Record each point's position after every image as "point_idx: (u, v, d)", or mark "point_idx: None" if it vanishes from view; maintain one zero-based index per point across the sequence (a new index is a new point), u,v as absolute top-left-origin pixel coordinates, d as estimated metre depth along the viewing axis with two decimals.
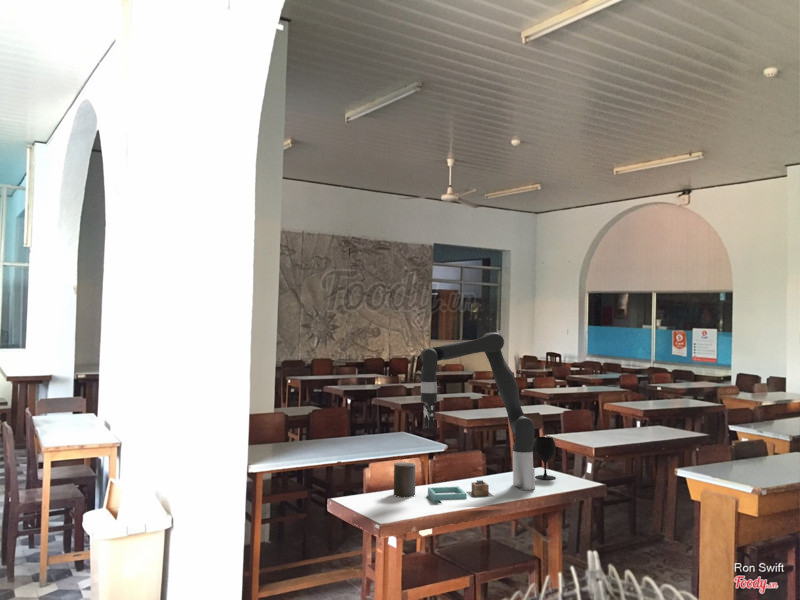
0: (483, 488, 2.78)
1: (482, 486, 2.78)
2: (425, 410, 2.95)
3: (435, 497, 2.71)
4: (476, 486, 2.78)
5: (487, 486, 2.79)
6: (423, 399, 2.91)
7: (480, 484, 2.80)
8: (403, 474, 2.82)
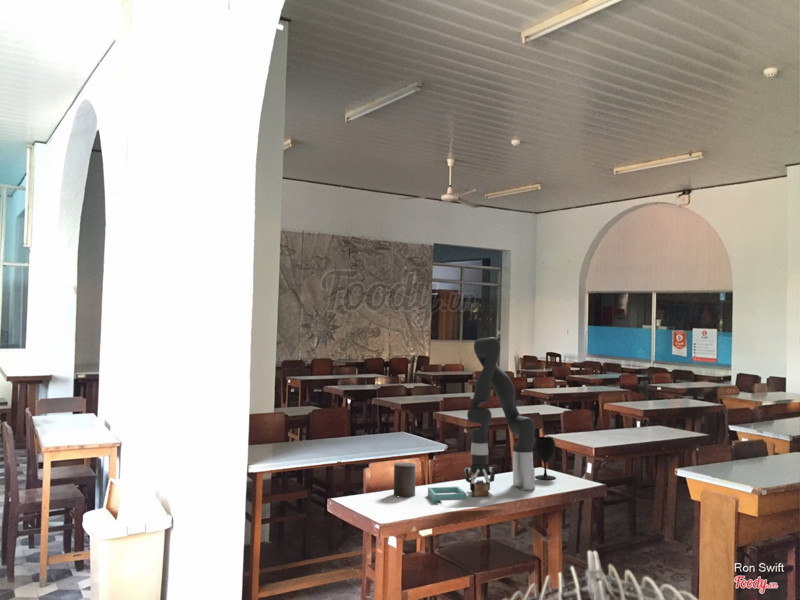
0: (483, 488, 2.78)
1: (482, 486, 2.78)
2: (477, 473, 2.80)
3: (435, 497, 2.71)
4: (476, 486, 2.78)
5: (487, 486, 2.79)
6: (486, 461, 2.79)
7: (480, 484, 2.80)
8: (403, 474, 2.82)
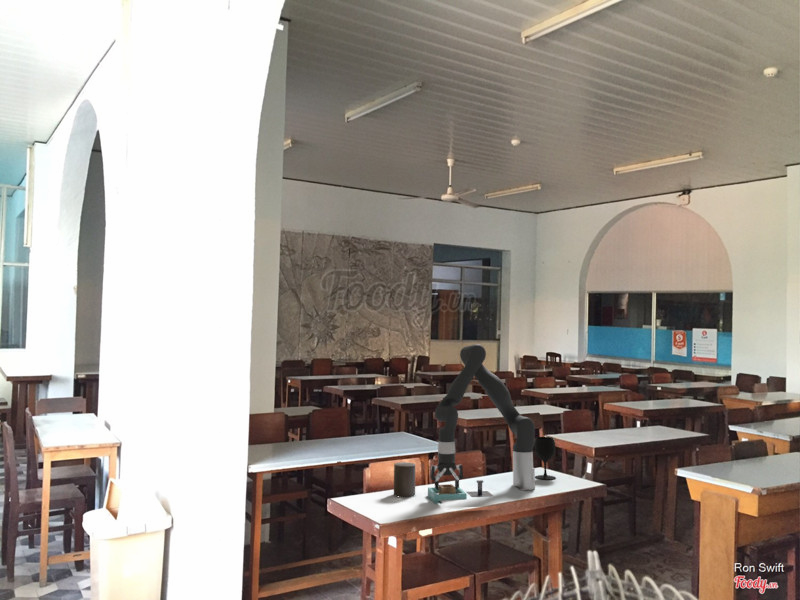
0: (450, 490, 2.76)
1: (449, 488, 2.76)
2: (443, 472, 2.78)
3: (435, 497, 2.71)
4: (443, 488, 2.75)
5: (454, 488, 2.76)
6: (453, 460, 2.77)
7: (480, 484, 2.80)
8: (403, 474, 2.82)
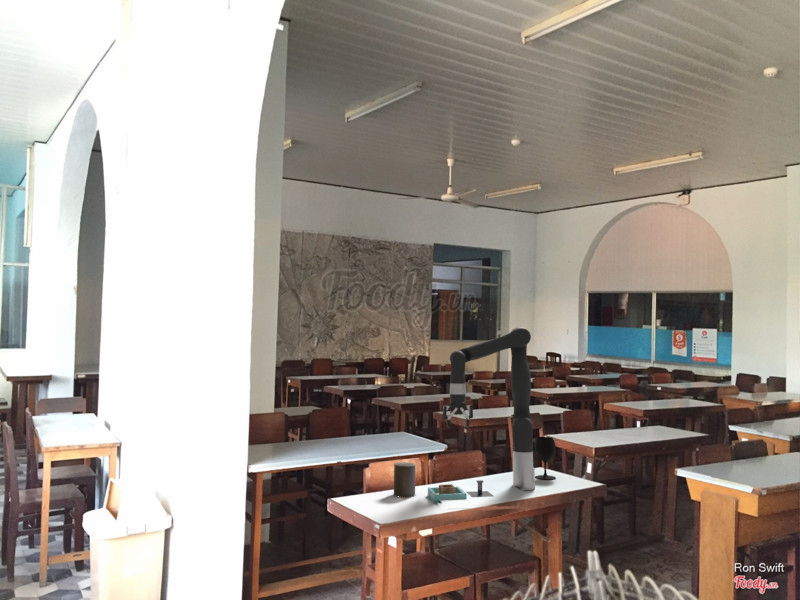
0: (450, 490, 2.76)
1: (449, 488, 2.76)
2: (455, 412, 3.00)
3: (435, 497, 2.71)
4: (443, 488, 2.75)
5: (454, 488, 2.76)
6: (464, 400, 2.99)
7: (480, 484, 2.80)
8: (403, 474, 2.82)
